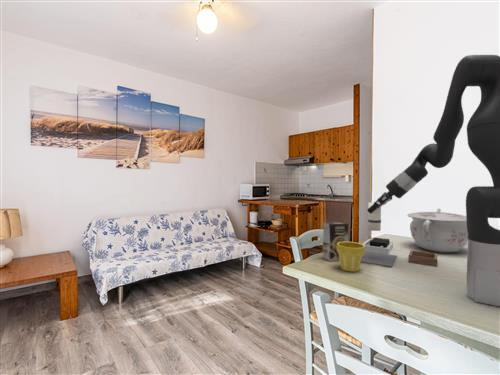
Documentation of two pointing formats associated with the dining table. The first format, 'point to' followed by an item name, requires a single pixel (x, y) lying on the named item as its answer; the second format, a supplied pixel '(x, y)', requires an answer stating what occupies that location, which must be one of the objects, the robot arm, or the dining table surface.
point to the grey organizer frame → (377, 249)
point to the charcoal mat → (378, 259)
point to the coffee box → (333, 239)
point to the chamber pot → (439, 231)
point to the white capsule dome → (374, 218)
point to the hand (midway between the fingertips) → (370, 211)
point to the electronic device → (379, 242)
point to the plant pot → (350, 255)
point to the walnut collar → (423, 258)
